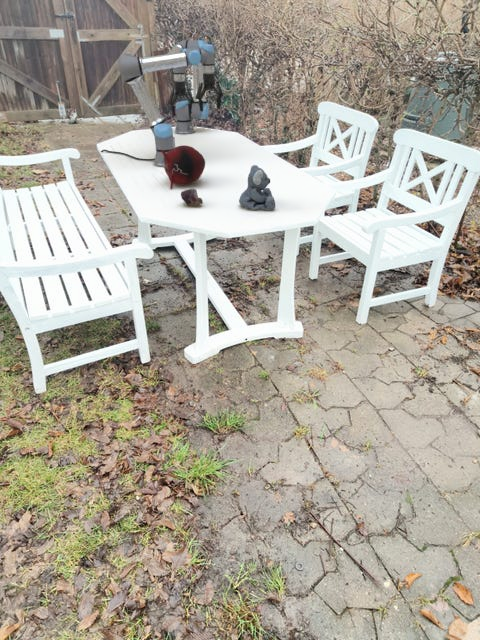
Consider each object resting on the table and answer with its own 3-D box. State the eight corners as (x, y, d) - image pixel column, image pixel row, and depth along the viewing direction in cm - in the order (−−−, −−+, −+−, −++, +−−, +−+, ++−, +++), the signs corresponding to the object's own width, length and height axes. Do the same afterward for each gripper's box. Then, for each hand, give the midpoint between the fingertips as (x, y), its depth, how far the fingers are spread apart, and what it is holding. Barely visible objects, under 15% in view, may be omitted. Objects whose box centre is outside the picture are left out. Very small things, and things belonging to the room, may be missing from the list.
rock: (196, 202, 238) (178, 205, 233) (194, 185, 234) (176, 188, 230) (205, 205, 228) (187, 208, 224) (203, 188, 224) (185, 191, 220)
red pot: (163, 151, 265) (157, 149, 242) (201, 142, 264) (199, 140, 241) (172, 187, 272) (167, 189, 248) (209, 179, 271) (208, 180, 248)
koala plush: (276, 211, 223) (277, 171, 212) (240, 212, 222) (240, 172, 211) (271, 199, 237) (272, 161, 226) (237, 200, 236) (237, 162, 225)
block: (168, 152, 319) (166, 138, 313) (162, 149, 325) (160, 136, 319) (175, 150, 322) (174, 137, 316) (169, 148, 328) (168, 134, 322)
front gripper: (195, 75, 274) (197, 112, 286) (228, 72, 286) (228, 108, 298) (188, 74, 279) (191, 111, 291) (221, 71, 291) (222, 106, 303)
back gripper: (166, 82, 299) (169, 117, 311) (197, 80, 312) (199, 113, 324) (161, 81, 304) (164, 115, 316) (192, 79, 317) (193, 112, 328)
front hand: (210, 109), depth 294 cm, fingers open, 13 cm apart
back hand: (182, 114), depth 320 cm, fingers open, 13 cm apart
